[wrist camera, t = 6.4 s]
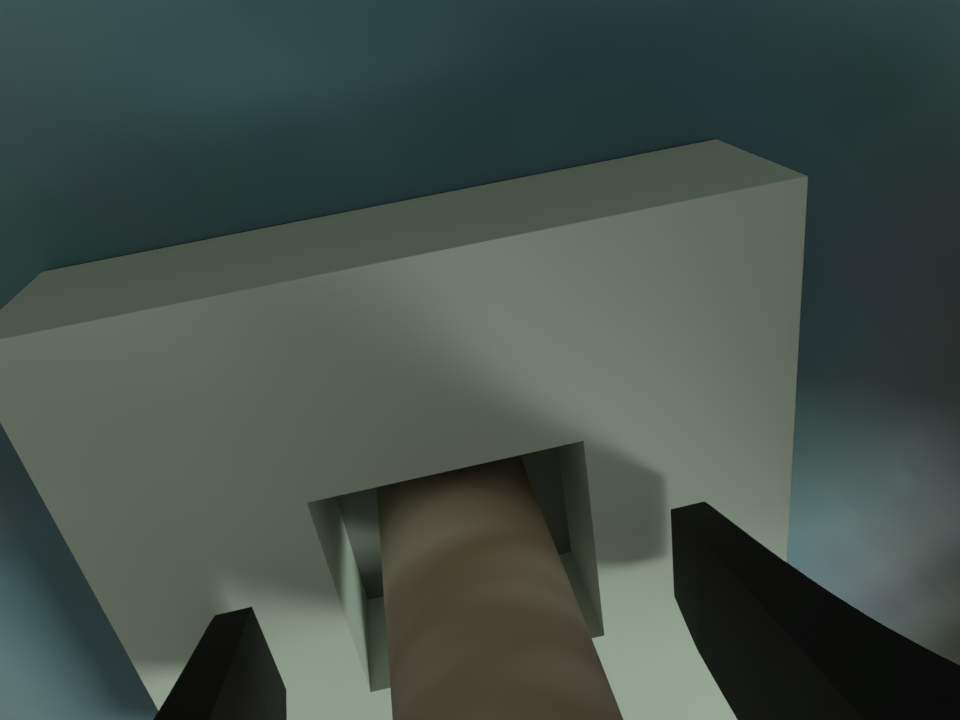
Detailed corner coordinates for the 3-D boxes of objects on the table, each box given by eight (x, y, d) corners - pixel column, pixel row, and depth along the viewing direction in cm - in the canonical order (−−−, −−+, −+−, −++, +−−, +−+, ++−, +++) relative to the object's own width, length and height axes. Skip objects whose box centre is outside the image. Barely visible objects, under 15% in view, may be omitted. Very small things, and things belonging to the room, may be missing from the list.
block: (716, 139, 13) (807, 176, 11) (717, 611, 19) (777, 713, 16) (41, 271, 12) (-41, 348, 10) (252, 725, 18) (235, 851, 15)
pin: (524, 410, 15) (660, 714, 8) (520, 531, 16) (635, 871, 10) (371, 422, 14) (395, 754, 8) (380, 546, 15) (406, 914, 9)
